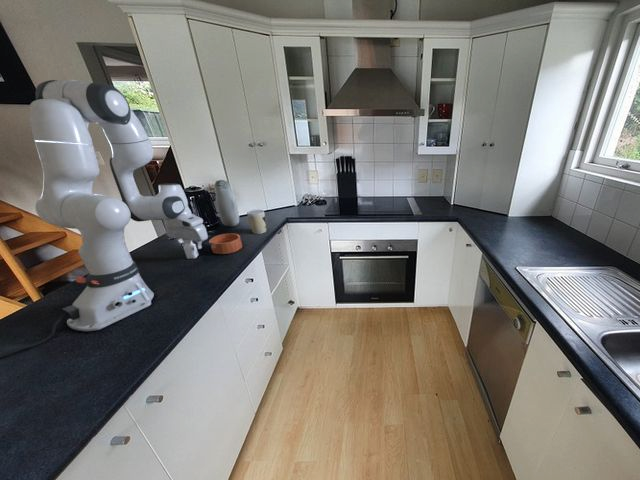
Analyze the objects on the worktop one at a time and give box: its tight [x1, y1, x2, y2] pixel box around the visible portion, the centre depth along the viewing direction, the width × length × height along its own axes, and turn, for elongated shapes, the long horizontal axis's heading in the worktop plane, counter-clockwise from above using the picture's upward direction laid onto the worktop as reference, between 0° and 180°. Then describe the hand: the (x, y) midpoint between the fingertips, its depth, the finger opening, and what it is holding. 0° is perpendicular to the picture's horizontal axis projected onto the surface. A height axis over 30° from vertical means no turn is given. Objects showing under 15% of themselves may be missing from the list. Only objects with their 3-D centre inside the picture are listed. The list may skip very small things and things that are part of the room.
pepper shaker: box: [182, 239, 200, 260], centre depth 128 cm, size 4×4×10 cm
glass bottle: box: [214, 179, 240, 228], centre depth 162 cm, size 10×10×28 cm
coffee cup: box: [246, 209, 267, 235], centre depth 158 cm, size 9×9×12 cm
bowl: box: [208, 232, 243, 255], centre depth 137 cm, size 14×14×6 cm
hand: (191, 247), depth 128 cm, fingers open, 8 cm apart
